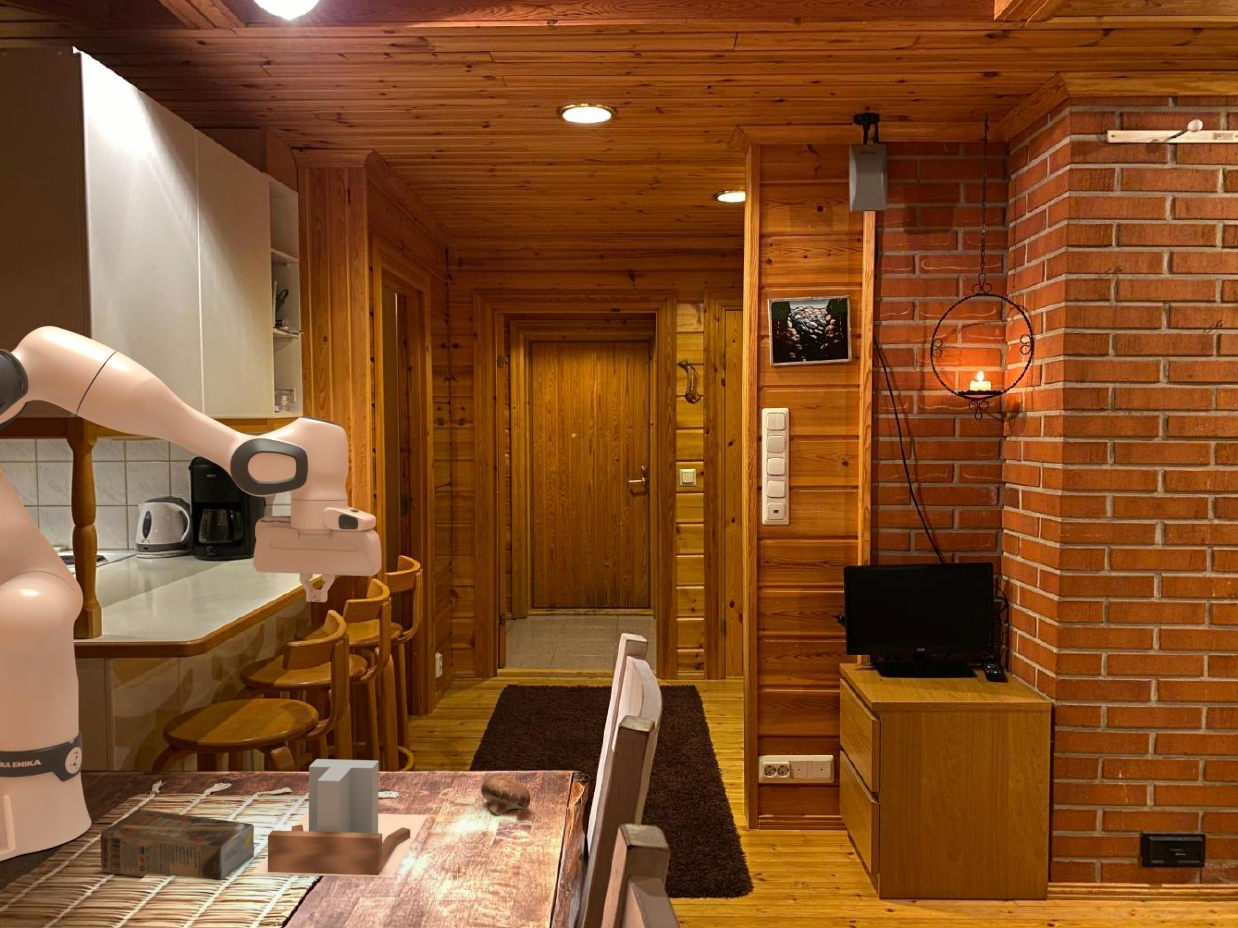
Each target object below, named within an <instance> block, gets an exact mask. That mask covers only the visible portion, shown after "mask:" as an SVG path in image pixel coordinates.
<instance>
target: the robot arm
mask: <svg viewBox="0 0 1238 928" xmlns="http://www.w3.org/2000/svg"><path fill="white" fill-rule="evenodd" d="M31 401H44V402H48V403H50V404H53V405H55V406H58V407H60V408H62V409H64V410H65V411H68V412H70V413H72V414H74V415H76V416H78V417H81V418H82V419H84V420H86V421H89V422H91V423H94V424H95V425H99V426H100V427H105V428H108V429H110V430H114V431H117V432H121V433H125V434H129V435H135V436H146V437H151V438H157V439H161V440H164V441H167V442H170V443H173V444H175V445H177V446H180V447H181V448H183V449H186V450H188V451H189V452H192V453H193V454H196V455H197V456H200V457H202V458H204V459H206V460H209V461H210V462H211V463H214V464H215V465H217V466H219V467H220V468H222V469H223V470H224V471H225V472H226V473H227V474H228V476H229V477H230V478H231V479H232V481H233V482H234V483H235V484H236V486H237V487H238V488H239V489H240V490H241V491H243V492H245V493H246V494H248V495H252V496H254V497H263V498H264V497H271V496H274V495H277V494H280V493H285V492H288V493H290V515H271V514H269V515H268V514H267V515H264V517H261V518H259V519H258V520H257V522H256V524H255V528H254V529H255V531H254V532H255V533H254V535H255V539H256V541H255V545H254V550H253V551H254V552H253V564H252V566H253V568H254V569H255V570H256V572H258V573H270V574H272V573H273V574H274V573H275V574H299V582H300V584H301V586H302V587H303V590H305V596H306V597H305V600H306V602H314V603H317V602H318V603H326V602H327V601H328V591H329V589H331V586H332V585H333V583H334V582H335V580H336V578H335V577H336V576H354V577H355V576H357V577H359V576H361V577H372V576H375V575H377V574H378V573H379V572H380V570H381V569H382V548H381V539H380V537H379V534H378V533H377V531H375V530H374V529H373V528H375V527H376V525H377V518H376V516H375V515H374V514H371V513H368V512H366V511H363V510H360V509H356V508H354V507H351V506H349V505H348V503H349V502H348V498H349V497H348V493H347V489H346V483H347V479H348V475H349V463H350V462H349V461H350V460H349V442H348V441H349V440H348V436H347V432H346V431H345V429H344V428H343V426H341V424H339V423H338V422H335V421H332V420H328V419H325V418H320V417H314V416H306V415H305V416H300V417H298V418H296V419H295V420H294V421H292V422H291V423H289V424H287V425H285V426H283V427H279V428H277V429H275V430H272V431H270V432H266V433H264V434H251V433H250V434H249V433H244V432H241V431H238V430H236V429H234V428H231V427H229V426H227V425H225V424H224V423H221V422H219V421H218V420H215V419H213V418H211V416H208V415H206V414H204V413H202V412H201V411H198V410H196V409H195V408H192V407H191V406H190V405H188V404H187V403H186V402H184V401H183V400H182V399H180V397H178V396H177V395H176V394H175V393H174V392H173V391H172V390H171V389H170V388H169V387H168V386H167V384H165V383H164V382H163V381H162V380H161V379H160V378H159V377H158V376H156V375H155V374H154V373H152V372H151V371H150V370H148V369H147V368H146V367H144V366H143V365H141V364H140V363H138V362H136V361H135V360H134V359H132V358H131V357H129V356H126V355H125V354H123V353H122V352H119V351H118V350H115V349H113V348H112V347H109V346H107V345H105V344H104V343H103V344H102V343H101V342H99V341H96V340H94V339H92V338H89V337H87V336H84V335H81V334H80V333H76V332H73V331H70V330H68V329H67V330H66V329H64V328H60V327H57V326H53V325H52V326H51V325H50V326H49V325H47V326H41V327H38V328H36V329H34V330H32V331H31V332H29V333H28V334H26V336H24V338H22V340H21V341H20V342H19V343H18V345H17V346H16V347H15V348H14V349H13V350H12V351H10V350H7V349H4V348H0V431H2V429H4V428H5V427H7V426H8V425H9V424H11V423H12V422H13V421H15V420H16V419H17V418H18V417H19V416H20V415H22V413H23V412H24V411H25V410H26V408H27V406H28V405H29V403H30V402H31ZM314 575H321V578H322V579H321V580H322V581H323V582H324V583H323V585H322V587H321V589H315V588H314V587H313V584H312V582H311V580H313V576H314ZM83 604H84V595H83V590H82V587H81V586H80V583H79V582H78V580H77V579H76V577H75V576H74V575H73V574H72V571H71V570H70V569H69V568H68V566H67V565H66V563H65V561H64V560H63V559H62V557H61V556H60V555H59V554H58V551H56V549H55V547H53V545H52V544H51V542H50V541H49V540H48V539H47V538H46V536H45V535H44V534H43V532H42V530H40V529H39V528H38V526H37V525H36V523H35V522H34V520H33V518H32V517H31V515H30V514H29V512H28V511H27V508H26V507H25V506H24V503H23V501H22V500H21V499H20V497H19V495H18V494H17V492H16V490H15V488H14V487H13V485H12V483H11V482H10V479H9V478H8V477H7V474H5V472H4V471H3V469H2V467H1V466H0V862H2V861H5V860H8V859H11V858H14V857H17V856H20V855H25V854H29V853H30V854H31V853H35V852H39V851H42V850H48V849H50V848H54V847H58V846H60V845H62V844H65V843H67V842H70V841H72V840H74V839H76V838H78V837H80V836H81V835H83V834H84V833H86V832H87V831H88V830H89V829H90V828H91V826H92V819H91V817H90V814H89V811H88V809H87V805H86V801H85V800H86V799H85V796H84V790H83V784H82V778H81V777H82V776H81V771H82V764H83V737H82V736H83V734H82V732H81V731H80V730H79V728H80V726H79V725H80V724H79V678H78V674H77V673H78V672H77V665H76V656H75V655H76V654H75V643H74V625H75V621H76V620H77V619H78V617H79V615H80V613H81V611H82V608H83V606H84V605H83Z"/></svg>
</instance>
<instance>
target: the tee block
mask: <svg viewBox="0 0 1238 928" xmlns="http://www.w3.org/2000/svg"><path fill="white" fill-rule="evenodd" d="M379 761H380V760H372V759H371V760H368V759H367V760H366V759H364V760H363V759H330V758H329V759H327V758H326V759H325V758H317V759H315V760H314V761H313V762H311V764H310V765H309V766H308V812H309V831H313V832H350V833H378V814H379V785H380V784H379V779H380V778H379V769H380V767H379V763H380V762H379Z"/></svg>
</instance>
